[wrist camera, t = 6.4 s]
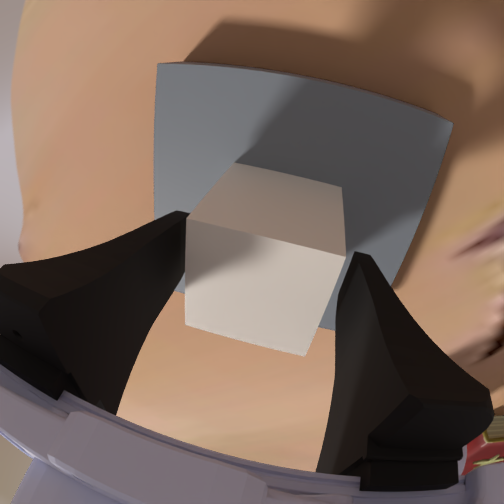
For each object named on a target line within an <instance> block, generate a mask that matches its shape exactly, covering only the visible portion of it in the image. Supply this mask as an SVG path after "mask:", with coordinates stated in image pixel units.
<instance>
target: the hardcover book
mask: <svg viewBox="0 0 504 504" xmlns="http://www.w3.org/2000/svg"><path fill="white" fill-rule="evenodd" d="M499 462H504V416H494V419H493V421H492V423H491V424H490V426H489V427H488V428H487V429H486V430H485V431H484V432H483V433H482V434H481V435H479V436H478V437H476V438H475V439H474V440H472V441H471V442H470V443H468V444H467V458H466V463H465V466H464V469H463V472H462V474H461V475H466V474H467V473H468V472H470V471H471V470H473V469H475V468H477V467H479V466H482V465H486V464H492V463H499Z"/></svg>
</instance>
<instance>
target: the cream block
mask: <svg viewBox="0 0 504 504" xmlns="http://www.w3.org/2000/svg"><path fill="white" fill-rule="evenodd" d="M345 259H346V244H345V226H344V211H343V198H342V187H339V186H335V185H331V184H327V183H323V182H319V181H315V180H311V179H307V178H303V177H299V176H294V175H290V174H286V173H282V172H277V171H273V170H268V169H263V168H259V167H254V166H249V165H244V164H239V163H233V164H232V165H231V166H230V168H229V169H228V170H227V171H226V172H225V173H224V174H223V176H222V177H221V178H220V179H219V180H218V181H217V182H216V184H215V185H214V186H213V187H212V188H211V190H210V191H209V192H208V193H207V194H206V195H205V197H204V198H203V199H202V200H201V201H200V203H199V204H198V205H197V206H196V207H195V209H194V210H193V211H192V212H191V213H190V215H189V216H188V217H187V218H186V251H185V325H188V326H191V327H194V328H198V329H201V330H204V331H208V332H211V333H215V334H218V335H222V336H225V337H229V338H233V339H236V340H240V341H244V342H248V343H251V344H255V345H259V346H263V347H267V348H271V349H275V350H279V351H283V352H288V353H292V354H296V355H301V356H305V355H306V353H307V351H308V348H309V346H310V344H311V342H312V339H313V337H314V335H315V333H316V330H317V328H318V326H319V323H320V321H321V319H322V316H323V314H324V312H325V309H326V307H327V304H328V302H329V299H330V297H331V294H332V292H333V290H334V287H335V284H336V282H337V279H338V277H339V274H340V272H341V269H342V267H343V264H344V261H345Z"/></svg>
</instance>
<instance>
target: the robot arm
mask: <svg viewBox="0 0 504 504" xmlns="http://www.w3.org/2000/svg"><path fill="white" fill-rule="evenodd" d="M189 215H190V213H187V212H183V211H178V210H176V211H174V212H171V213H169V214H166V215H164V216H162V217H160V218H158V219H156V220H154V221H152V222H150V223H148V224H146V225H143V226H141V227H139V228H137V229H135V230H133V231H131V232H128V233H126V234H124V235H122V236H119V237H117V238H115V239H113V240H110V241H108V242H105V243H102V244H100V245H97V246H94V247H91V248H88V249H85V250H81V251H78V252H74V253H70V254H67V255H63V256H59V257H55V258H50V259H45V260H39V261H33V262H25V263H16V264H5V265H3V266H2V267H1V268H0V435H2V436H3V437H4V438H5V439H7V440H8V441H9V442H10V443H12V444H13V445H14V446H16V447H17V448H18V449H20V450H21V451H22V452H24V453H25V454H26V455H28V456H29V457H30V458H32V459H33V461H32V463H31V464H30V467H29V468H28V470H27V472H26V474H25V476H24V478H23V480H22V482H21V483H20V486H19V487H18V489H17V492H16V493H15V495H14V497H13V500H12V502H11V504H504V462H499V463H492V464H486V465H482V466H479V467H477V468H475V469H473V470H471V471H470V472H468V473H467V474H466V475H461V474H462V472H463V469H464V466H465V463H466V458H467V444H468V443H470V442H471V441H472V440H474V439H475V438H476V437H478V436H479V435H481V434H482V433H483V432H484V431H485V430H486V429H487V428H488V427H489V426H490V424H491V423H492V421H493V419H494V410H493V405H492V401H491V396H490V392H489V389H488V388H486V387H485V386H484V385H482V384H481V383H480V382H478V381H477V380H476V379H474V378H473V377H472V376H470V375H469V374H468V373H466V372H465V371H464V370H463V369H462V368H461V367H459V366H458V365H457V364H456V363H455V362H454V361H453V360H451V359H450V358H449V357H448V356H447V355H446V354H445V353H444V352H443V351H442V350H441V349H440V348H439V347H438V346H437V345H436V344H435V343H434V342H433V341H432V340H431V339H430V337H429V336H428V335H427V334H426V333H425V332H424V331H423V329H422V328H421V327H420V326H419V325H418V323H417V322H416V321H415V320H414V319H413V317H412V316H411V315H410V313H409V312H408V311H407V309H406V308H405V307H404V305H403V304H402V302H401V301H400V300H399V298H398V297H397V295H396V294H395V292H394V291H393V289H392V288H391V286H390V285H389V283H388V281H387V280H386V278H385V277H384V275H383V273H382V272H381V270H380V269H379V267H378V265H377V264H376V262H375V261H374V259H373V258H372V256H371V255H369V254H365V253H361V252H357V251H354V254H353V256H352V259H351V262H350V264H349V267H348V270H347V272H346V275H345V278H344V280H343V283H342V285H341V288H340V290H339V293H338V299H337V307H336V316H335V380H334V387H333V394H332V400H331V406H330V412H329V417H328V423H327V428H326V432H325V437H324V441H323V446H322V450H321V454H320V457H319V461H318V465H317V468H316V472H309V471H303V470H296V469H290V468H285V467H279V466H274V465H269V464H264V463H259V462H255V461H250V460H246V459H242V458H238V457H234V456H230V455H226V454H222V453H219V452H215V451H212V450H208V449H205V448H201V447H198V446H195V445H192V444H189V443H186V442H182V441H179V440H177V439H174V438H171V437H168V436H165V435H162V434H160V433H157V432H154V431H152V430H149V429H147V428H144V427H142V426H139V425H137V424H134V423H132V422H129V421H127V420H125V419H122V418H120V417H118V416H116V414H117V411H118V407H119V404H120V401H121V398H122V395H123V392H124V389H125V387H126V384H127V381H128V379H129V376H130V373H131V371H132V368H133V366H134V364H135V361H136V359H137V356H138V354H139V352H140V349H141V347H142V345H143V343H144V341H145V339H146V336H147V334H148V332H149V330H150V328H151V327H152V325H153V323H154V321H155V320H156V318H157V317H158V315H159V314H160V312H161V310H162V309H163V307H164V306H165V304H166V303H167V301H168V299H169V298H170V296H171V295H172V293H173V292H174V290H175V288H176V287H177V285H178V284H179V282H180V281H181V279H182V277H183V275H184V272H185V251H186V218H187V217H188V216H189Z"/></svg>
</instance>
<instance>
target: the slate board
mask: <svg viewBox="0 0 504 504" xmlns="http://www.w3.org/2000/svg"><path fill="white" fill-rule="evenodd" d="M453 124H454V123H452V122H450V121H449V120H447V119H445V118H443V117H441V116H440V115H438V114H436V113H434V112H431V111H429V110H426V109H423V108H420V107H418V106H415V105H412V104H409V103H406V102H403V101H400V100H397V99H394V98H391V97H388V96H384V95H381V94H378V93H374V92H371V91H367V90H364V89H360V88H356V87H352V86H349V85H345V84H340V83H336V82H332V81H328V80H323V79H319V78H314V77H309V76H304V75H298V74H293V73H287V72H281V71H275V70H269V69H262V68H254V67H246V66H237V65H227V64H216V63H202V62H169V63H158V65H157V79H156V96H155V119H154V214H155V220H156V219H158V218H160V217H162V216H164V215H166V214H169V213H171V212H174V211H176V210H178V211H183V212H187V213H191V212H192V211H193V210H194V209H195V207H196V206H197V205H198V204H199V203H200V201H201V200H202V199H203V198H204V197H205V195H206V194H207V193H208V192H209V191H210V190H211V188H212V187H213V186H214V185H215V184H216V182H217V181H218V180H219V179H220V178H221V177H222V176H223V174H224V173H225V172H226V171H227V170H228V169H229V168H230V166H231V165H232V164H233V163H239V164H244V165H249V166H254V167H259V168H263V169H268V170H273V171H277V172H282V173H286V174H290V175H294V176H299V177H303V178H307V179H311V180H315V181H319V182H323V183H327V184H331V185H335V186H339V187H342V198H343V211H344V226H345V244H346V259H345V261H344V264H343V267H342V269H341V272H340V274H339V277H338V279H337V282H336V284H335V287H334V290H333V292H332V294H331V297H330V299H329V302H328V304H327V307H326V309H325V312H324V314H323V316H322V319H321V321H320V323H319V326H318V327H321V328H325V329H330V330H334V331H335V316H336V307H337V299H338V293H339V290H340V288H341V285H342V283H343V280H344V278H345V275H346V272H347V270H348V267H349V264H350V262H351V259H352V256H353V254H354V251H357V252H361V253H365V254H369V255H371V256H372V258H373V259H374V261H375V262H376V264H377V265H378V267H379V269H380V270H381V272H382V273H383V275H384V277H385V278H386V280H387V281H388V283H389V285H390V286H391V285H392V283H393V281H394V279H395V277H396V274H397V272H398V270H399V268H400V266H401V264H402V262H403V259H404V257H405V255H406V253H407V251H408V248H409V246H410V244H411V241H412V239H413V237H414V234H415V232H416V230H417V227H418V225H419V222H420V220H421V218H422V215H423V213H424V210H425V207H426V205H427V202H428V200H429V197H430V194H431V192H432V189H433V186H434V183H435V181H436V178H437V175H438V172H439V169H440V166H441V163H442V160H443V157H444V154H445V151H446V148H447V144H448V141H449V138H450V135H451V131H452V128H453ZM174 291H177V292H181V293H184V294H185V272H184V275H183V277H182V279H181V281H180V282H179V284H178V285H177V287H176V288H175V290H174Z"/></svg>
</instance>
